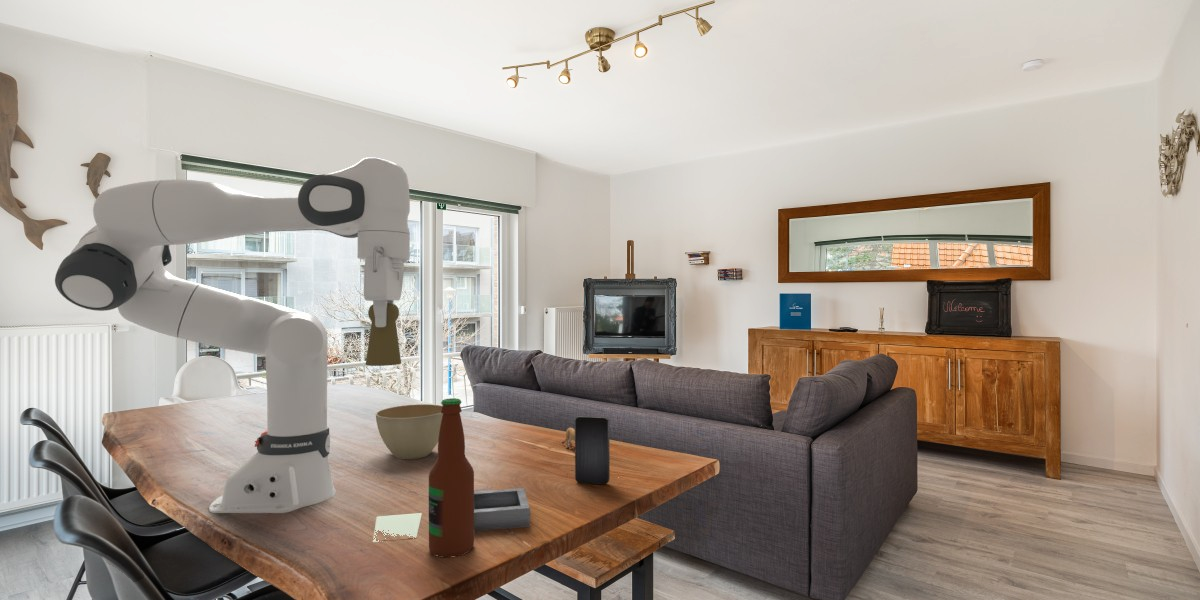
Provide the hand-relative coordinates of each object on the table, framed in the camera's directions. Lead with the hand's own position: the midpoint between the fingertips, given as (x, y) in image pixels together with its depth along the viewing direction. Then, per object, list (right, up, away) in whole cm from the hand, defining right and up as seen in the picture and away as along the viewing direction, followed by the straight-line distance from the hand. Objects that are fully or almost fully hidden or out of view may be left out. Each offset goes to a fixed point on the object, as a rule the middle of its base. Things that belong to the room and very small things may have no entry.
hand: (383, 326), depth 102 cm
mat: (0, -37, 0) cm, 37 cm away
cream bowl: (-11, -37, +49) cm, 62 cm away
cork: (0, -7, 0) cm, 7 cm away
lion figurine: (+32, -37, +55) cm, 74 cm away
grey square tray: (+19, -37, +5) cm, 42 cm away
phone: (+37, -37, +26) cm, 59 cm away
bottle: (+14, -37, -8) cm, 41 cm away
